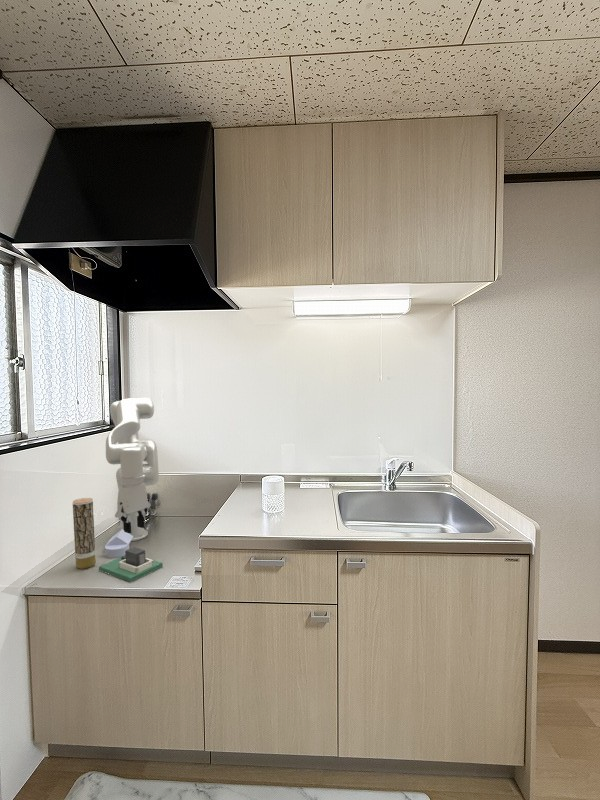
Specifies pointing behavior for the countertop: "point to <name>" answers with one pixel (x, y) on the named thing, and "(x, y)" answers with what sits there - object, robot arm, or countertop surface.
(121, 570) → the board
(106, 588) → the countertop surface
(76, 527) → the bark patterned cylinder
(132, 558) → the plug
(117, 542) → the wedge on round base
